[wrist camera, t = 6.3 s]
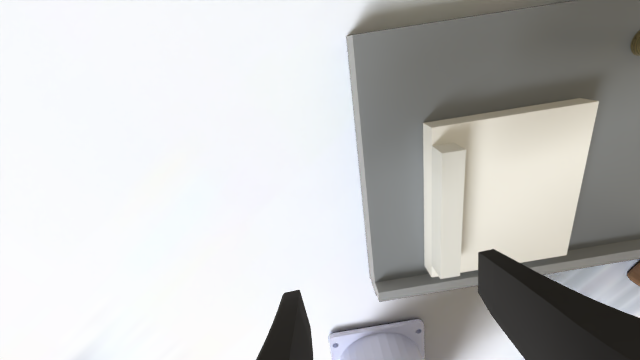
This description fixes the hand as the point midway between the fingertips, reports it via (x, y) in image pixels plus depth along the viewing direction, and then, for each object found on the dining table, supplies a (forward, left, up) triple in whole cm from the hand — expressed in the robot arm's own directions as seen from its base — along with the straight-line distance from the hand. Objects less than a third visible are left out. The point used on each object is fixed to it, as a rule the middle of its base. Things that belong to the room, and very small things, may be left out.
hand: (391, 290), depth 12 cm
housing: (+1, -11, -9) cm, 15 cm away
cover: (0, -9, -7) cm, 11 cm away
